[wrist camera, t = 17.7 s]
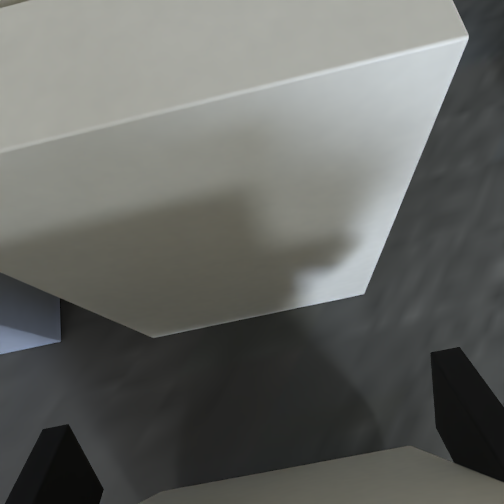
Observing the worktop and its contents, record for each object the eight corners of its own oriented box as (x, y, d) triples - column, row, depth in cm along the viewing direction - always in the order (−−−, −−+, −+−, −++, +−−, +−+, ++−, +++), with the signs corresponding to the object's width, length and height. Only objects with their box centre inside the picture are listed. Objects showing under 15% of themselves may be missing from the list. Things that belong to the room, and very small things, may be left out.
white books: (364, 294, 20) (471, 35, 6) (152, 338, 21) (-183, 195, 7) (330, 171, 22) (352, -221, 8) (140, 214, 23) (-131, -83, 9)
